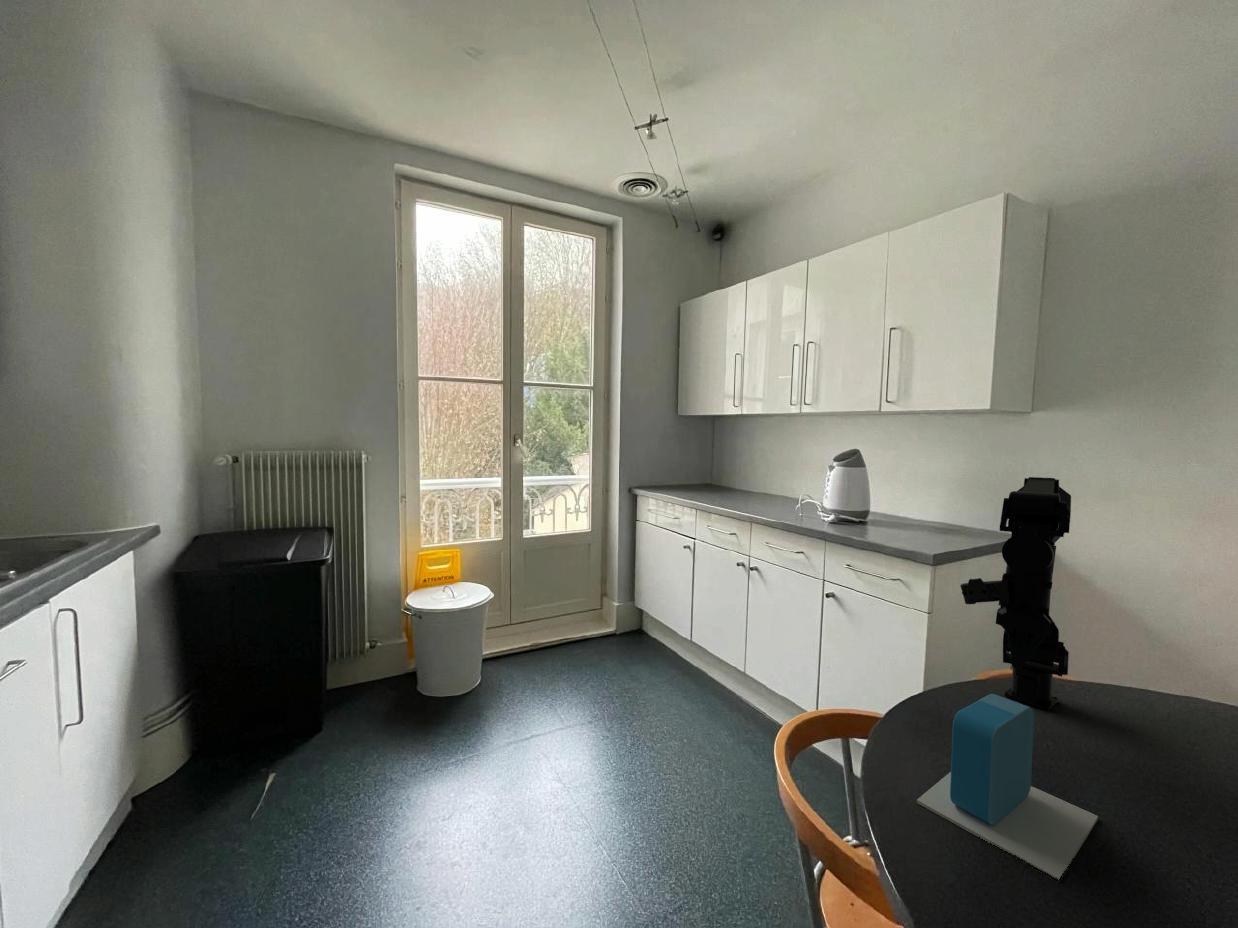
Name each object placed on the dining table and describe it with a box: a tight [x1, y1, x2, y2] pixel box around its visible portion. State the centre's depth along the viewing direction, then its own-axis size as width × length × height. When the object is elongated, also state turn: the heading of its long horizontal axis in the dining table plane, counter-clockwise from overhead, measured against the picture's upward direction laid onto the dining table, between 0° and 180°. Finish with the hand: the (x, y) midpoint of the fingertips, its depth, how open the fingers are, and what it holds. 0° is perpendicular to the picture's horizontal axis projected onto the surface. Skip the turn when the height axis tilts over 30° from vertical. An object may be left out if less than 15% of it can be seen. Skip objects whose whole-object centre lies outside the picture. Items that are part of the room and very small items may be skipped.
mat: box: [916, 771, 1099, 880], centre depth 62 cm, size 16×14×1 cm
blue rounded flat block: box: [950, 693, 1035, 825], centre depth 63 cm, size 12×4×12 cm, turn 122°
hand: (1016, 667), depth 79 cm, fingers closed
